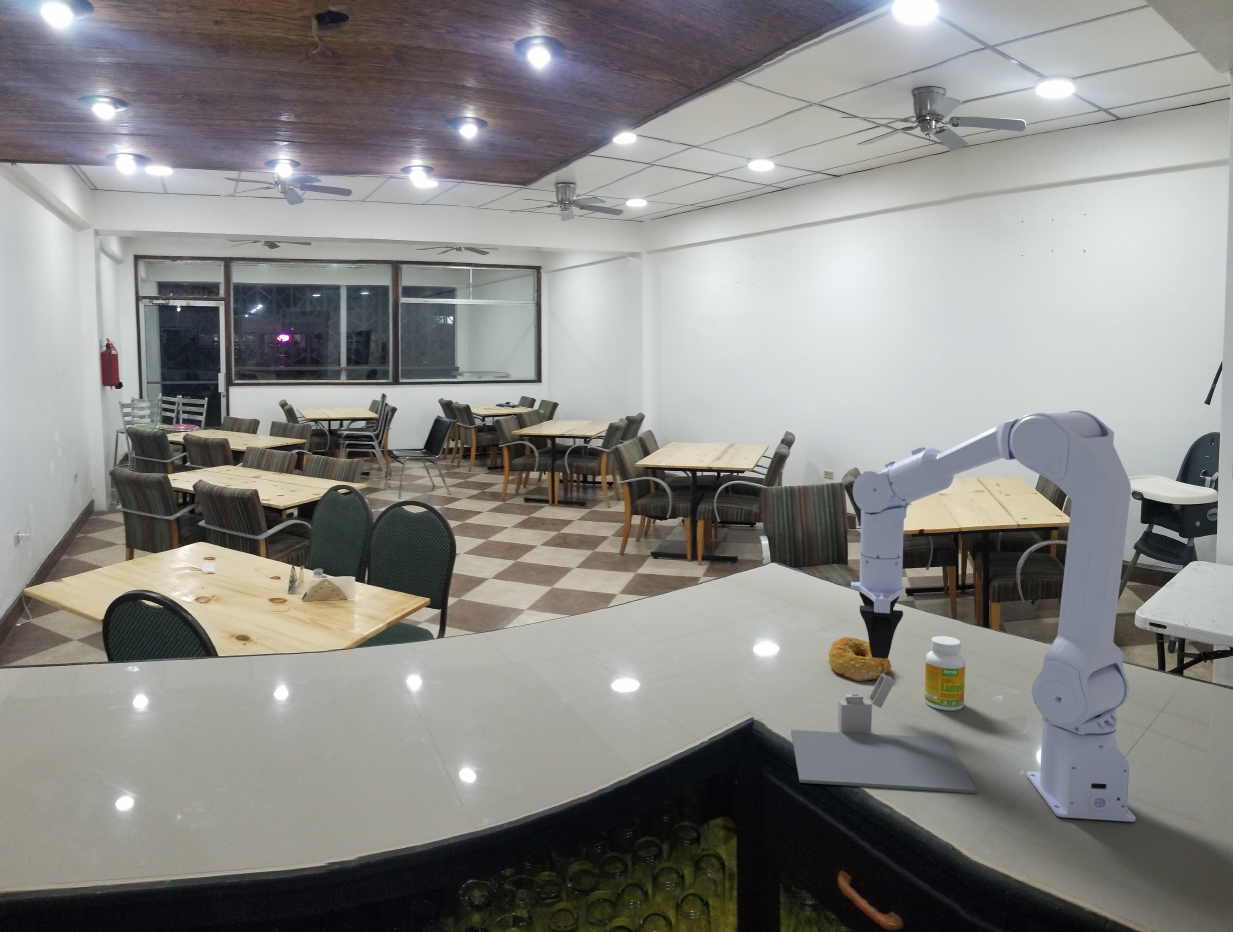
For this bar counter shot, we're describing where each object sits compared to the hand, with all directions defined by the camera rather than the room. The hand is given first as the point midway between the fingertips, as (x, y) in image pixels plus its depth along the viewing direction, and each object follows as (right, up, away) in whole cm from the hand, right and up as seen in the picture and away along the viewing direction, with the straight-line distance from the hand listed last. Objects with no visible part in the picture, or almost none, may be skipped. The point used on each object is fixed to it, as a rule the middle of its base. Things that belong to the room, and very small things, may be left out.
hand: (878, 648), depth 112 cm
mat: (-5, -11, -13) cm, 18 cm away
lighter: (-4, -10, -5) cm, 12 cm away
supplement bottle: (+11, -9, +4) cm, 15 cm away
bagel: (+3, -8, +18) cm, 20 cm away
